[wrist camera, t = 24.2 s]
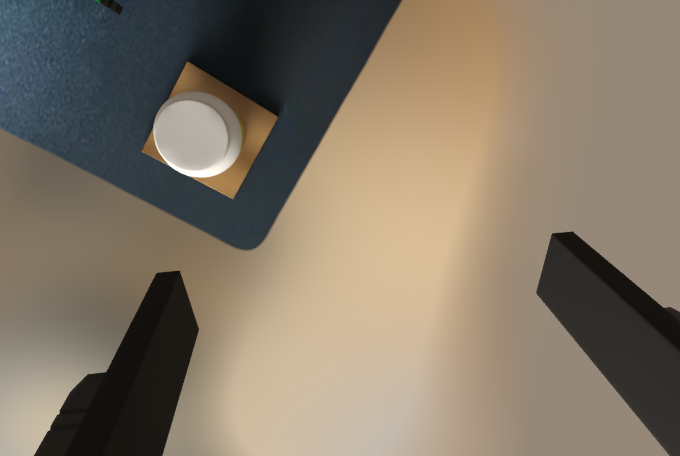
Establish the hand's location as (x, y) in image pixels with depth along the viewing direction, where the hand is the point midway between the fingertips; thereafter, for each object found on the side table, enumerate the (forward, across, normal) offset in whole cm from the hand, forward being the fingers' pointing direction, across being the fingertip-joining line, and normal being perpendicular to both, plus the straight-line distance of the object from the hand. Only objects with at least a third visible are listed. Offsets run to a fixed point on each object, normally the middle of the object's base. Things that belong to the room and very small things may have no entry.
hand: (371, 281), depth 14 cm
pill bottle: (+26, -11, -2) cm, 28 cm away
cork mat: (+26, -11, -2) cm, 28 cm away
